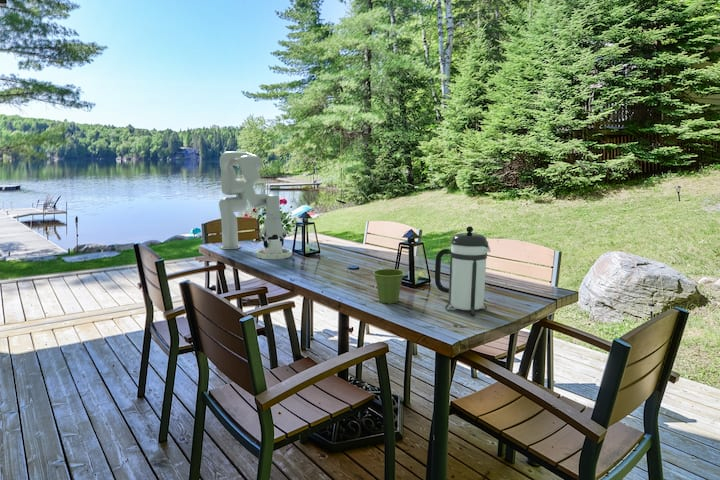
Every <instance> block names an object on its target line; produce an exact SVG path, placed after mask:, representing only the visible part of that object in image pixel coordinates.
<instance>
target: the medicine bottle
mask: <svg viewBox="0 0 720 480" xmlns="http://www.w3.org/2000/svg"><path fill="white" fill-rule="evenodd" d="M267 241H268V248H265V247H264V246H263V247H264V248H263V249H265V254H270V253H273V254H278V253H281V254H282V248H283V246H282V242H281V241H280V240H279V236H278V235H272V237H269V238H268V239H267Z"/></svg>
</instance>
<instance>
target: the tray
mask: <svg viewBox="0 0 720 480" xmlns="http://www.w3.org/2000/svg"><path fill="white" fill-rule="evenodd" d="M292 256H293V255H292V250H291V249H289V248H283V247H282V254H281V253H278V254H273V253H270V254H265V248H263V249H259V250H256V252H255V257H256V258H257V259H260V258H261V259H260V260H282V259H287V258H290V257H292Z"/></svg>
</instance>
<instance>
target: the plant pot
mask: <svg viewBox="0 0 720 480" xmlns="http://www.w3.org/2000/svg"><path fill="white" fill-rule="evenodd" d="M372 274H373V275H374V278H375V283H376V288H377V294H378V299H379V300H378V301H379V302H380V303H383V304H385V303H387V304H395V303H398V301H399V299H400V292H401V286H402V281H403V277H404V275H405V274H406V273H405V271H404V270H402V269H395V268H379V269H375V270H373V272H372Z"/></svg>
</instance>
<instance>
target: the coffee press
mask: <svg viewBox="0 0 720 480" xmlns="http://www.w3.org/2000/svg"><path fill="white" fill-rule="evenodd" d="M465 229H466V232H460V233H456V234H455V235H453V236H452V238H451V239H449V240H450V242H449V243H450V246H451V247H450V249H449V248H445V249H441V250H440V251H439V252H437V254H436V256H435V266H434V282H435V283H434V284H435V286H436V288H437V289H438V290H439V291H441V292H443V293H445V294H448V302H447V304H446V305H445V307H444V308H445V310H446V311H447V312H450V311H451V310H452V309H457V310H460V311H461V310H462V311H469V314H470V315H469V316H470V317H475V316H476V311H477V310H480V309H482V310H483V311H486V310H487V305H486V304H485V287H486V268H487V267H486V266H487V259H488V253H491V248H490V245H489V241H487V238H486V236H484V235H482V234H480V233H475V232H473V231H474V228H473V226H470V225H469V226H467V227H466V228H465ZM444 255H449V256H450V263H449V281H448V282H449V285H448V286H449V287H445V286H444V285H442V283H441V267H442V266H441V265H442V258H443V256H444ZM449 306H450V307H449ZM448 307H449V308H448Z"/></svg>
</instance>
